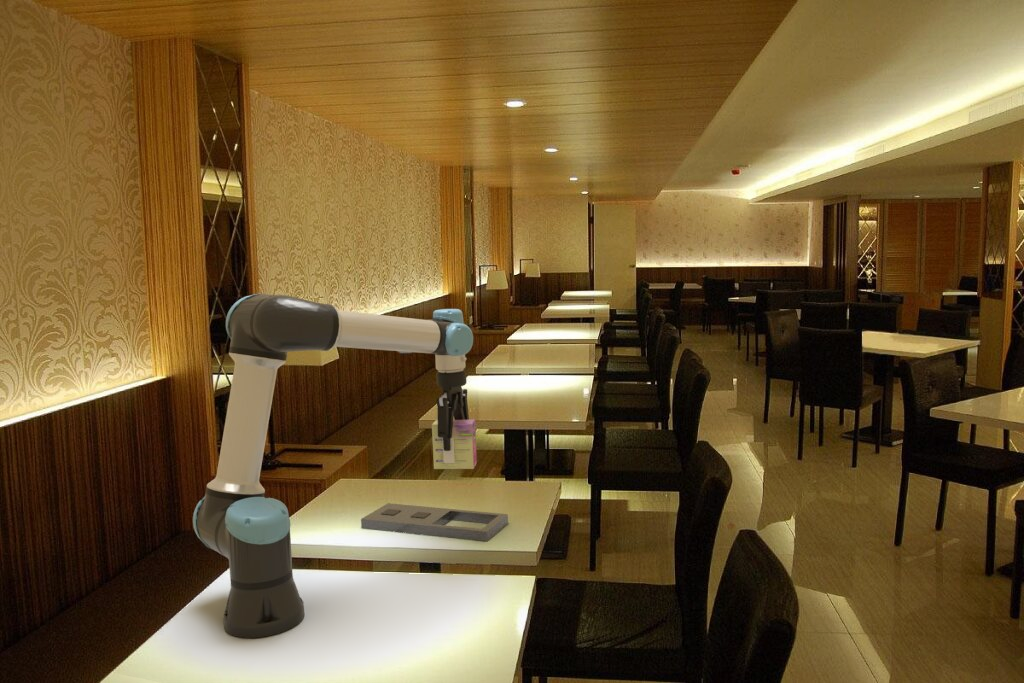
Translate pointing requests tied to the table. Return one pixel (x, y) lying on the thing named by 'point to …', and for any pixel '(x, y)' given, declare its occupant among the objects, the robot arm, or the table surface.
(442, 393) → the robot arm
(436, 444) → the box
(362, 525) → the plate with rectangular opening
